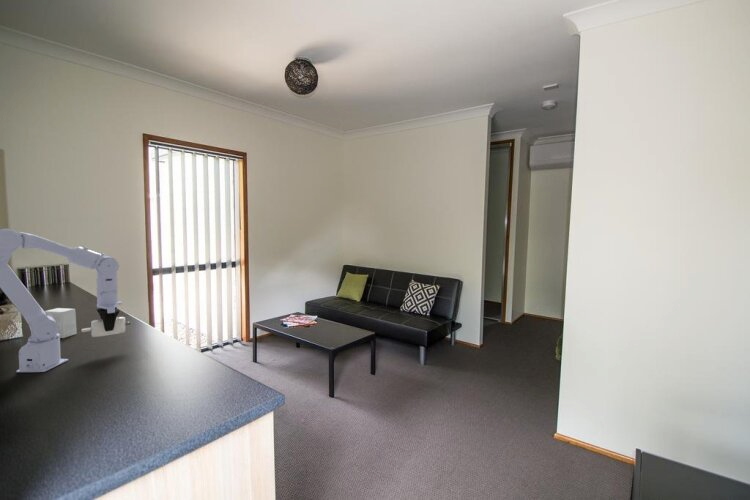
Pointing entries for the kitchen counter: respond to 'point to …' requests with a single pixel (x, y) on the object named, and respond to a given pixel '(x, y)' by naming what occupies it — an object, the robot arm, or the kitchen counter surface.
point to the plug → (99, 330)
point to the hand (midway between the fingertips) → (108, 329)
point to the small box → (64, 320)
